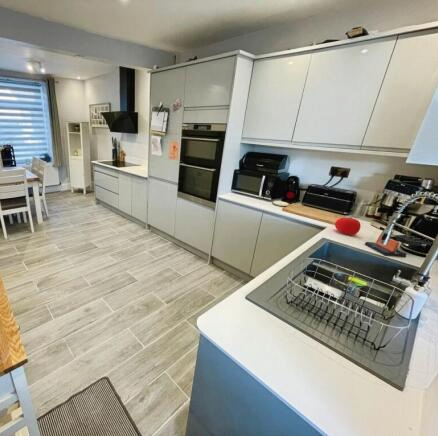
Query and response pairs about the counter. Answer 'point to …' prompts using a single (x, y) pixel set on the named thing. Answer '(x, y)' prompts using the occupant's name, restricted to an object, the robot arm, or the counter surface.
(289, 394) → the counter surface
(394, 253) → the dark grey square plate
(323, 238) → the counter surface
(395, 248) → the orange rectangular block
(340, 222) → the tomato
